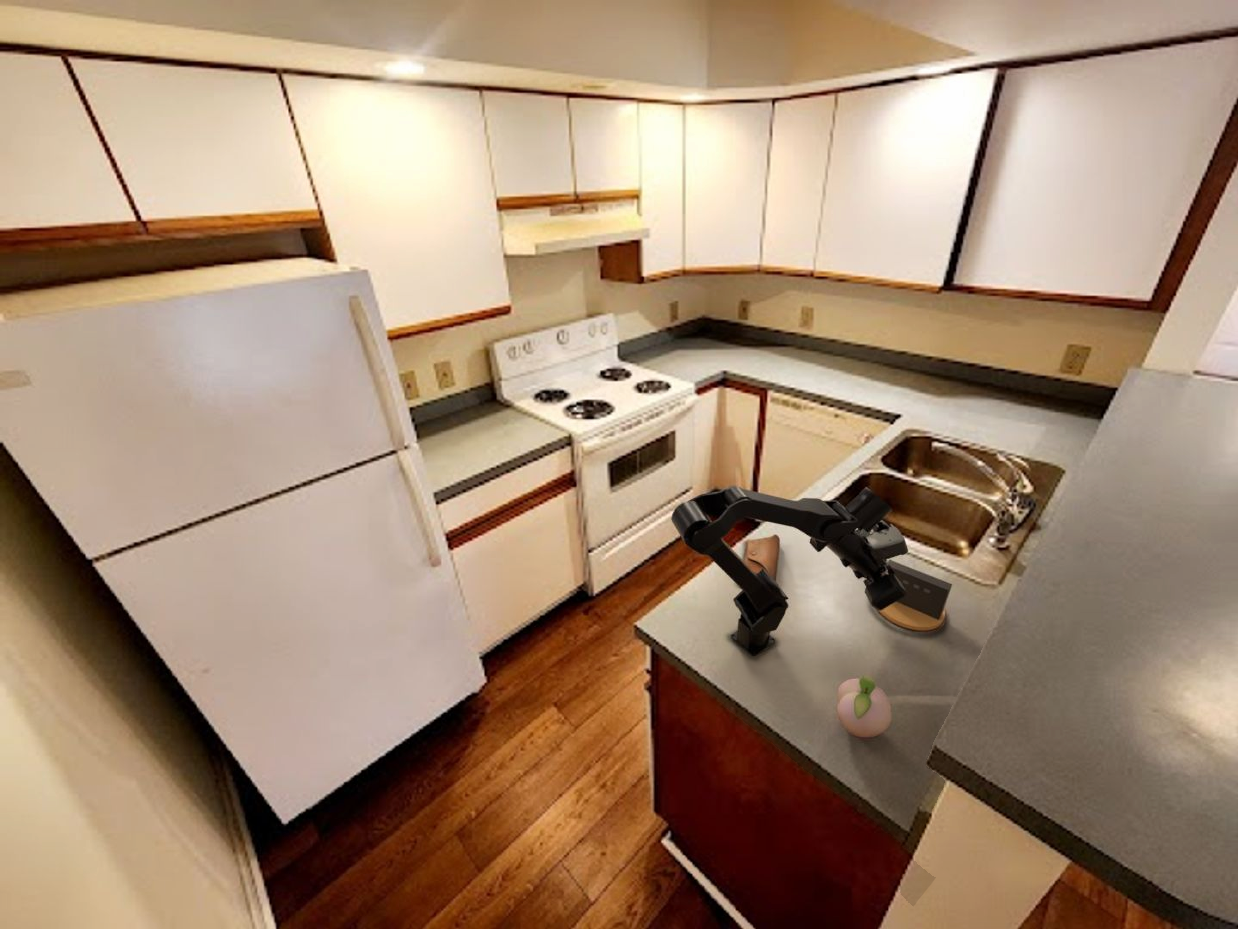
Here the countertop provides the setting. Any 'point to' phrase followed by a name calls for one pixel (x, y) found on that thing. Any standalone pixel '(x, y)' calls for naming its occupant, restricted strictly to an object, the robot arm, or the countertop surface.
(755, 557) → the sunglasses case
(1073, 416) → the countertop surface
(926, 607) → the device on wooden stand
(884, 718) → the decorative fruit
